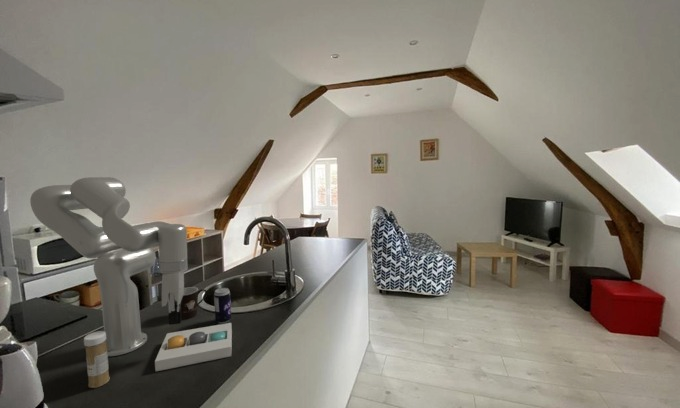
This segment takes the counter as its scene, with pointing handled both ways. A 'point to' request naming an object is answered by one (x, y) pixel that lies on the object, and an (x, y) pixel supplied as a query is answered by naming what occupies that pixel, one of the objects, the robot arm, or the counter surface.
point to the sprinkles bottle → (97, 359)
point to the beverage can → (222, 305)
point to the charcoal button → (197, 338)
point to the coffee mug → (190, 302)
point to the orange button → (176, 342)
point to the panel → (195, 348)
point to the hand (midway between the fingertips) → (175, 322)
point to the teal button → (217, 336)
